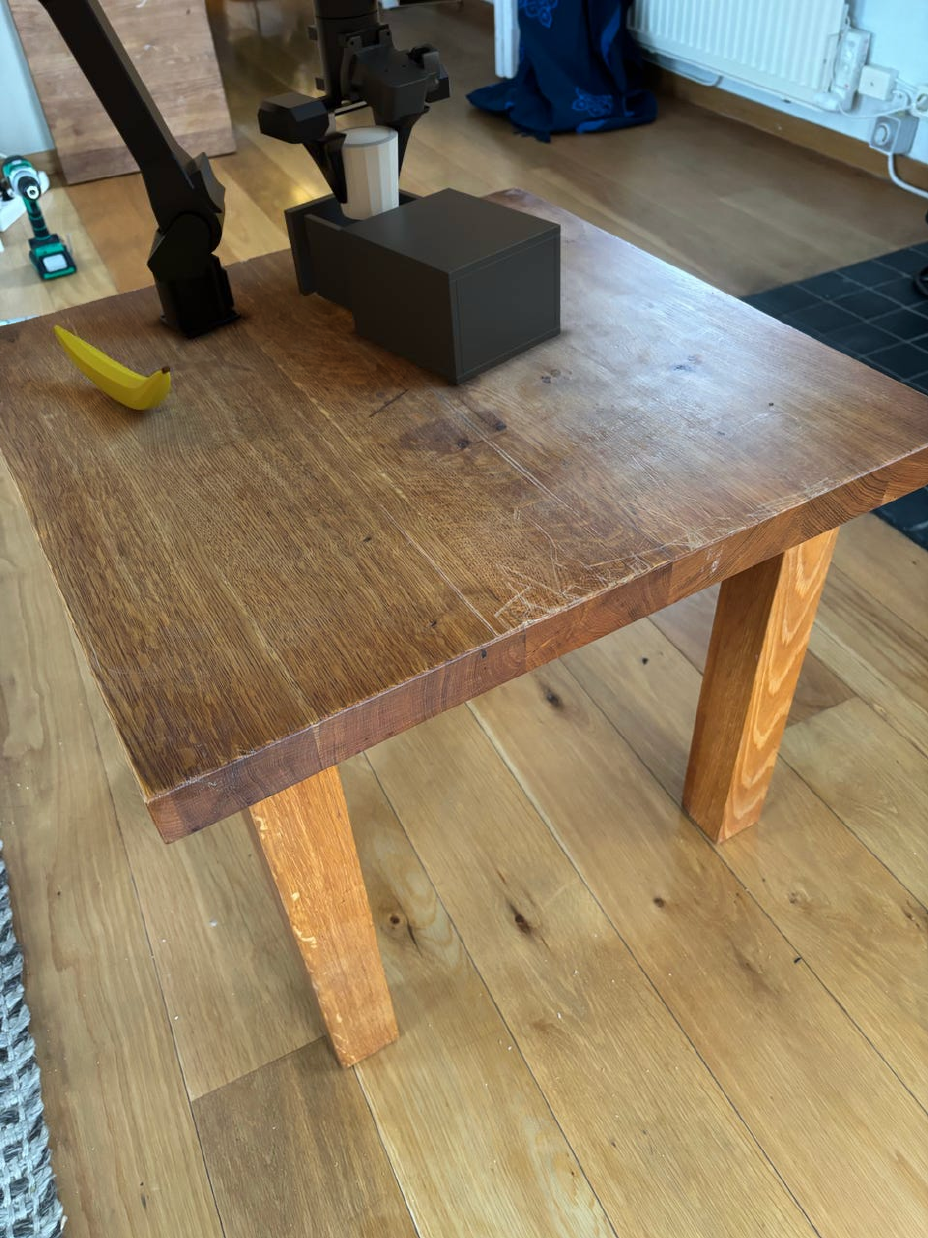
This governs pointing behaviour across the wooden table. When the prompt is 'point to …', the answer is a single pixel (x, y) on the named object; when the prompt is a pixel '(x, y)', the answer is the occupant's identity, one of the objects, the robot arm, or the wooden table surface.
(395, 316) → the cabinet
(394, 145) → the white cylinder
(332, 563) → the wooden table surface
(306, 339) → the wooden table surface
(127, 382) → the banana
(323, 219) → the drawer
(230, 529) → the wooden table surface
